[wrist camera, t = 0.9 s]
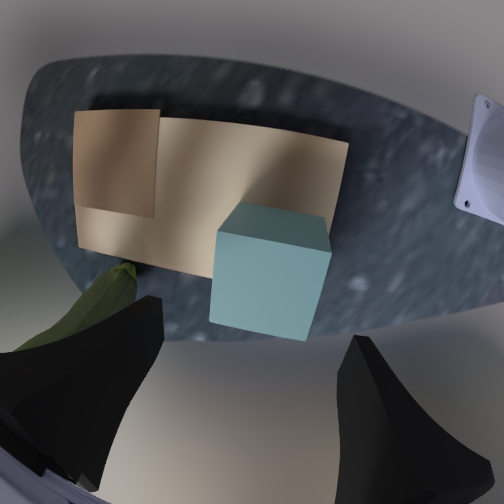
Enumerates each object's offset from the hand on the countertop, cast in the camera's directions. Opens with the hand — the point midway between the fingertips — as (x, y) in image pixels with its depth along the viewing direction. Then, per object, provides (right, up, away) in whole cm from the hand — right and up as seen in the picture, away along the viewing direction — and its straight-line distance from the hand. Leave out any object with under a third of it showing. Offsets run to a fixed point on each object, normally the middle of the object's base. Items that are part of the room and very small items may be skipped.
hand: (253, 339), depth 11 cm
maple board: (-4, +7, +8) cm, 11 cm away
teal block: (+1, +3, +8) cm, 8 cm away
